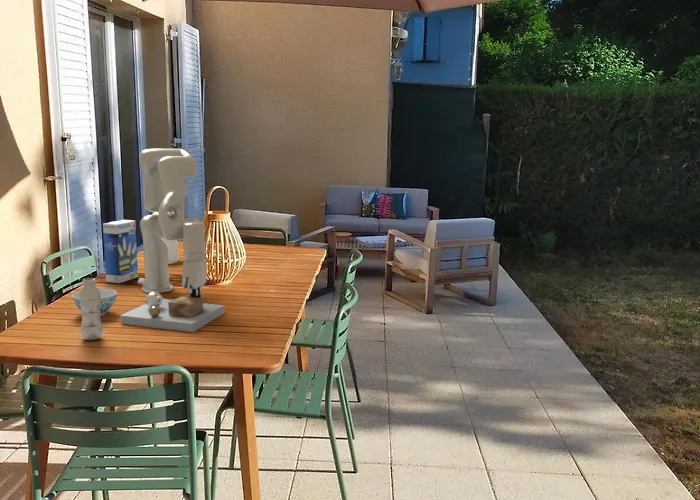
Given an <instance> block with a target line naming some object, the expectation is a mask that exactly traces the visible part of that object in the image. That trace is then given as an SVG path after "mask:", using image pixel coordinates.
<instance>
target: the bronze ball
mask: <svg viewBox="0 0 700 500" xmlns="http://www.w3.org/2000/svg"><path fill="white" fill-rule="evenodd" d="M149 314H150V316H152V317H157V316H159V314H160V309H159V307H157V306H153V307H151V308H150V309H149Z"/></svg>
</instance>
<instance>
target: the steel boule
mask: <svg viewBox="0 0 700 500" xmlns="http://www.w3.org/2000/svg"><path fill="white" fill-rule="evenodd" d="M163 299H164V298H163V296H162V295H161V293H157V292H151V293H147V295H145V299H144V300H145V301H144V302H145V304H146V305H147V306H148V307H150V308H151V307H153V306H157V307H159V306H160V305H161V304H162V301H163Z"/></svg>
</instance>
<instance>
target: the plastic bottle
mask: <svg viewBox="0 0 700 500" xmlns="http://www.w3.org/2000/svg"><path fill="white" fill-rule="evenodd" d="M96 284H97V283H96V278H94V277H87V278H83V279H82V289H81V290H80V291H81V292H80V294H79V299H80V305H81V310H80V312H81V326H80V336H81V337H82V339H83V340H84V341H95V340H99V339H101V338H102V337H103V333H104V330H103V329H104V328H103V324H102V320H101V316H100V301H101V293H100V291H99V290H98V289H99V288H97V286H96Z"/></svg>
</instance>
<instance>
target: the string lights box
mask: <svg viewBox="0 0 700 500" xmlns="http://www.w3.org/2000/svg"><path fill="white" fill-rule="evenodd" d="M102 229H103V230H102V233H103V248H104V249H103V250H104V252H103V253H104V264H105V265H104V266H105V282H106V283H114V284H122V283H124V282H128V281H130V280H133V279H136V278H138V277H139V268H138V248H137V246H138V245H137V233H136V232H137V229H136V220H132V219H121V220H115V221H110V222H105V223H102Z"/></svg>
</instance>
